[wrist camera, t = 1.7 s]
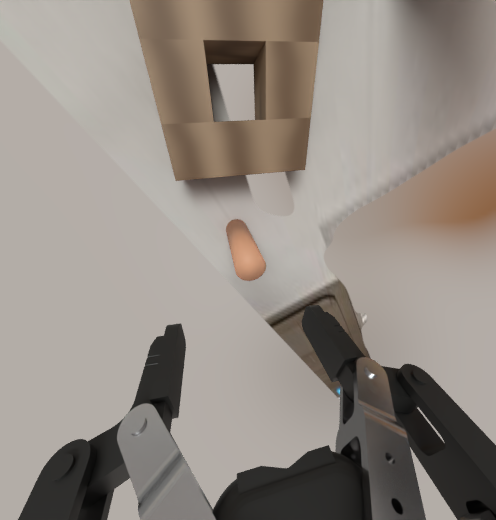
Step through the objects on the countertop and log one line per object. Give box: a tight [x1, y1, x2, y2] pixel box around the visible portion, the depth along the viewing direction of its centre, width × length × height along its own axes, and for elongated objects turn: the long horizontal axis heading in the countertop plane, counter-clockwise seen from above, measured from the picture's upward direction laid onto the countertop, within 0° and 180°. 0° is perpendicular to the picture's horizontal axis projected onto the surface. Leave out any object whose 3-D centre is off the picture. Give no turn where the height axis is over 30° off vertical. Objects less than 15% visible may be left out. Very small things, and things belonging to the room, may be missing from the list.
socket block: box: [130, 0, 323, 181], centre depth 19 cm, size 16×16×5 cm
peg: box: [226, 219, 266, 281], centre depth 25 cm, size 4×4×12 cm
